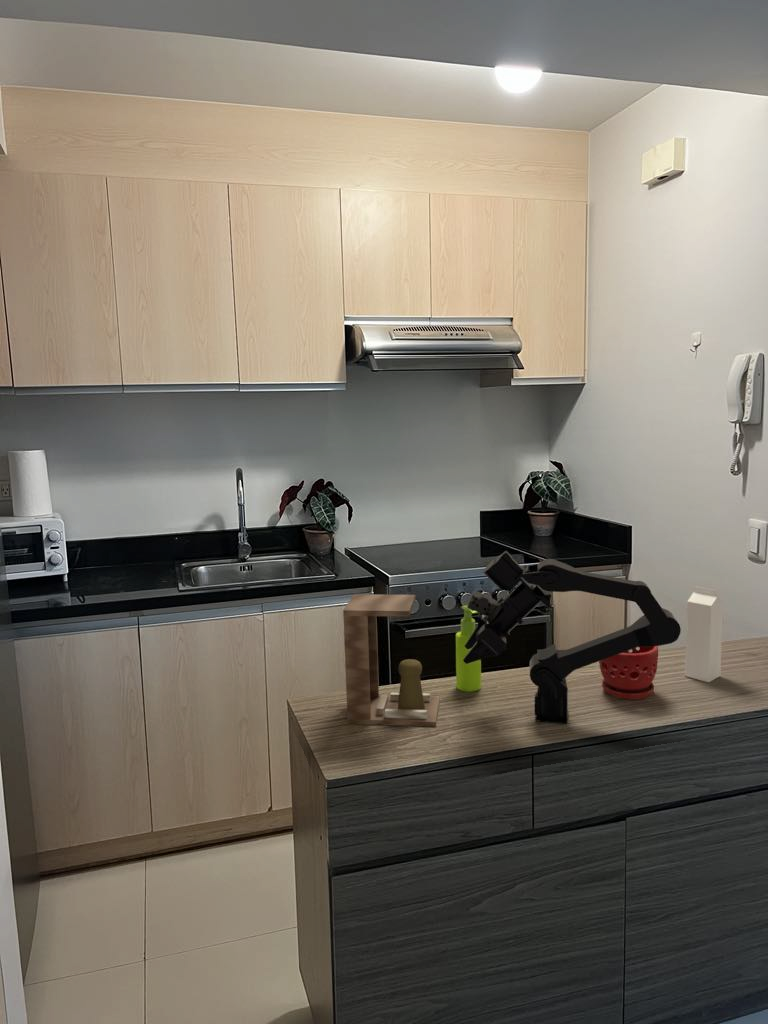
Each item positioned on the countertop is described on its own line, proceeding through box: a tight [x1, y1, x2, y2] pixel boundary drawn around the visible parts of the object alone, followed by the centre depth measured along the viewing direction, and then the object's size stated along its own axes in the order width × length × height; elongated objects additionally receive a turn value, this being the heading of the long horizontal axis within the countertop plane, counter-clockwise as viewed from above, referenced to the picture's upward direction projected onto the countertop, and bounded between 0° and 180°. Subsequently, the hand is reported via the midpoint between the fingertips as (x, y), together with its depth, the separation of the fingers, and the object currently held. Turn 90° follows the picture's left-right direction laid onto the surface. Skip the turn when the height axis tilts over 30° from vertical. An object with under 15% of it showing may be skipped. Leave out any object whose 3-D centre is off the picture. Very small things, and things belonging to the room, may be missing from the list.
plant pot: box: [598, 646, 659, 700], centre depth 174 cm, size 13×13×12 cm
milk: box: [684, 585, 724, 683], centre depth 182 cm, size 6×6×22 cm
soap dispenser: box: [455, 604, 482, 692], centre depth 180 cm, size 6×7×20 cm
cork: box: [397, 658, 425, 710], centre depth 167 cm, size 6×6×11 cm
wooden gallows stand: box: [342, 593, 441, 727], centre depth 166 cm, size 19×13×25 cm
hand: (465, 654), depth 164 cm, fingers open, 9 cm apart
